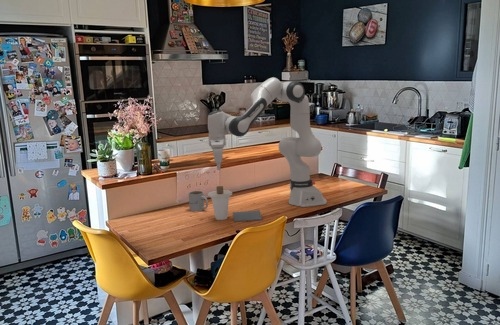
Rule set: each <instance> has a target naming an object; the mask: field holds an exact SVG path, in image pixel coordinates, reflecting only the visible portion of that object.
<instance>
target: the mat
mask: <svg viewBox="0 0 500 325" xmlns="http://www.w3.org/2000/svg"><path fill="white" fill-rule="evenodd" d="M232 217H233V222H234V223H235V222H236V223H237V222H238V223H239V222H251V221H263V216H262V215H261V211H260V210H245V211H243V210H242V211H232Z"/></svg>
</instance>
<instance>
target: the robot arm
mask: <svg viewBox="0 0 500 325" xmlns="http://www.w3.org/2000/svg"><path fill="white" fill-rule="evenodd" d="M274 100H276V101H278V102H287V103H289V105H290V111H289V112H290V116H289V117H290V118H289V119H290V120H289V121H290V122H289V123H290V124H289V125H290V128H291V129H292V130H293V131H294V132H296V133H297V134H298V137H292V136H290V137H283V138H281V140H280V141H279V142H278V151H279V153H280V154H281V155H282V156H284V158H285V159H286V161H287V163H288V166H289V170H290V180H289V189H290V192H289V198H288V204H290V205H292V206H296V207H302V208H306V207H315V206H323V205H327V203H328V201H327V199H326V198H324V197H323V193H322V191H321V190H320V189H319V188H317V187H316V186H314V185H315V184H316V181H315V180H312V179H311V178H310V170H311V169H310V166H309V164H307V162H305V161H303V160H302V157H303V158H305V157H306V158H313V157H318V156H319V155H320V154H321V151H322V143H321V141H320V140H319V139H318V138H317V137H315V135H314V134H313V132H312V128H311V118H310V117H311V116H310V115H311V111H310V100H309V97H308V95H306V93H305V88H304V85H303V84H302V83H301V82H299V81H284V82H281V81H280V79H278V78H277V77H274V76H273V77H270V78H267V79H266V80H265V81H263V82H262V83H260V85H258V86H256V88H255V89H254V90H253V91H252V92H251V95H250V102H251V103H252V105H251V106H250V107H249V108H248V109H247V111H245V112H244V114H242V115H240V116H236V115H235V116H234V115H231V114H229V113H226V112H224V111H223V110H219V109H218V110H217V109H216V110H213V111H211V112H209V114H208V116H207V130H208V146H209V147H210V148H211V150H212V153H213V159H214V163H216V170H217V171H220V170H221V169H222V168H221V166H222V165H221V164H222V163H223V156H224V155H223V154H224V149H225V148H224V147H225V146H226V144H227V139H226V135H227V134H229V135H232V136H233V135H234V136H235V137H237V138H239V137H240V138H241V137H244V136H245V135H247V133H249V131H250V128H251V126H252V125H253V124H254V122H255V121H256V120H257V119H258V118H259V117H260V116H261V115H262V113H263V112H264V111H265V110H266V108H268V106H269V105H270V104H271V103H272V102H273V101H274Z"/></svg>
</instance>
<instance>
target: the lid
mask: <svg viewBox="0 0 500 325" xmlns="http://www.w3.org/2000/svg"><path fill="white" fill-rule="evenodd" d="M207 196H208V198H210V199H211V198H227V197H229V198H231V197H232V196H233V191H231V190H228V189H226V190H225V189H224V186H223V185H219V186H216V189H215V190H213V191H209V192H208V193H207Z"/></svg>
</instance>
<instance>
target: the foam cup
mask: <svg viewBox="0 0 500 325" xmlns="http://www.w3.org/2000/svg"><path fill="white" fill-rule="evenodd" d="M210 199H211V202H212V208H213V212H214V218H215V220H217V221H223V220H224V221H225V220H226V219H227V220H228V215H229V204H230V202H229V201H230V197H227V198H210Z"/></svg>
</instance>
